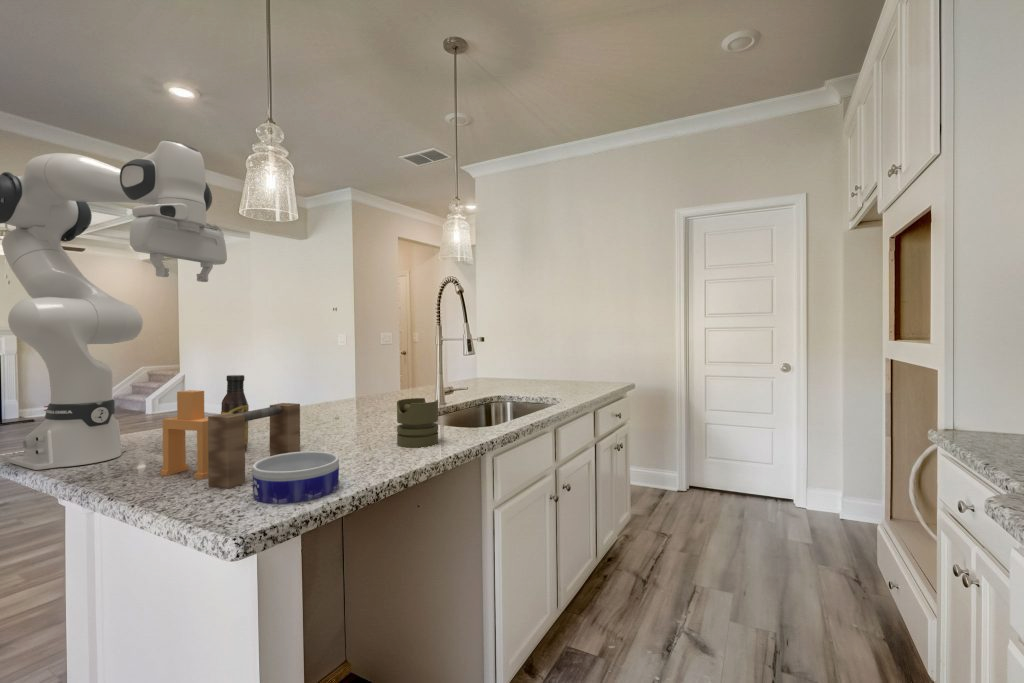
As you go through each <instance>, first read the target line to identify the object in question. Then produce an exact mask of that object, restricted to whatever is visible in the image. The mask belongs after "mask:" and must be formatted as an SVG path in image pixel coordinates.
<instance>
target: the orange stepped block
mask: <svg viewBox="0 0 1024 683" xmlns="http://www.w3.org/2000/svg"><path fill="white" fill-rule="evenodd" d="M176 392H177V393H176V407H177V408H176V409H177V410H176V413H177V414H176V416H174V417H169V418H168V417H167V418H162V469H159V476H165V477H166V476H171V475H174V474H177V473H181V472H184V471H188V470H190V468H189V464H186V462H187V461H186V456H187V455H186V454H187V453H186V431H195V432H196V457H197V458H196V464H197V465H196V470H197V472H195V473H194V474H193V478H194V479H196V480H204V479H208V417H205V390H193V389H192V390H181V391H176Z"/></svg>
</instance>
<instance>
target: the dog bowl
mask: <svg viewBox="0 0 1024 683" xmlns="http://www.w3.org/2000/svg"><path fill="white" fill-rule="evenodd" d="M251 471H252V494H253V496H252V497H253V498H254V500H255V501H257V502H260V503H263V504H270V505H272V504H273V505H274V504H275V505H285V504H296V503H304V502H309V501H312V500H317V499H321V498H323V497H326V496H328V495H330V494H332V493H334V492H336V490H338V489H339V488H338V487H339V476H340V458H339V455H337V454H336V453H333V452H328V451H320V450H319V451H318V450H317V451H314V450H311V451H310V450H309V451H308V450H307V451H306V450H305V451H300V452H293V453H285V454H279V455H274V456H270V455H269V456H267V457H264V458H261V459H260V460H257V461H255V463H253V465H252V468H251Z"/></svg>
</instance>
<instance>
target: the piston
mask: <svg viewBox="0 0 1024 683" xmlns="http://www.w3.org/2000/svg"><path fill="white" fill-rule="evenodd" d="M438 421H439V399H435V400H434V401H430V402H426V398H425V397H416V398H415V397H413V398H412V397H411V398H403V399H398V400H397V401H396V422H397V423H398V424H399V425H397V426H396V433H397V434H396V445H397V447H400V448H404V447H405V448H407V449H422V448H421V447H424V448H429V447H428V446H430V447H433V446H432V445H434V446H436V445H438V444H439V424H437V422H438ZM437 443H438V444H437ZM435 444H436V445H435ZM405 448H404V449H405Z"/></svg>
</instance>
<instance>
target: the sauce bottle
mask: <svg viewBox="0 0 1024 683" xmlns="http://www.w3.org/2000/svg"><path fill="white" fill-rule="evenodd" d="M225 380H226V381H227V382H226V383H227V385H226V394H225V396H224V397H223V398H222V401H221V411H220V414H225V413H227V414H237V413H242V412H247V411H249V404H248V401H247V397H246V394H245V392H244V391H245V390H244V382H245V375H244V374H228V375H226V379H225ZM248 444H249V421H246V422H245V451H246V450H247V449H248Z"/></svg>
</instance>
